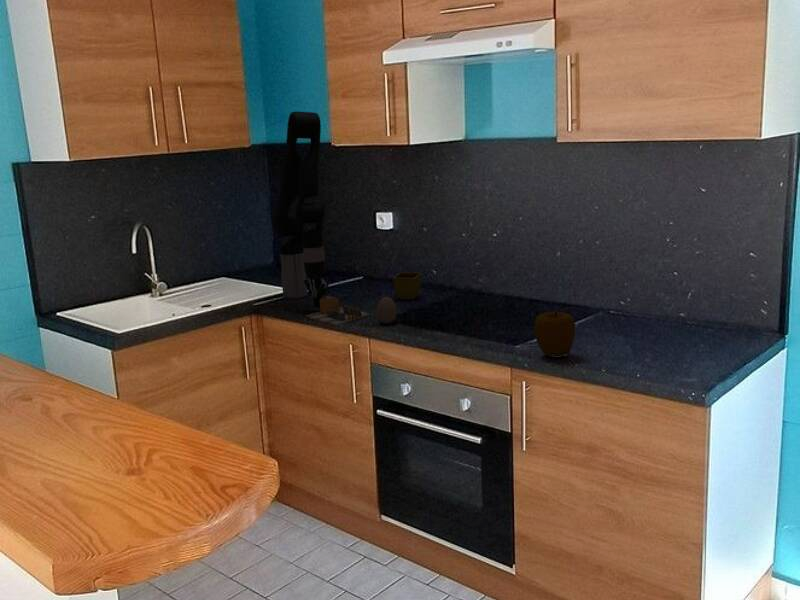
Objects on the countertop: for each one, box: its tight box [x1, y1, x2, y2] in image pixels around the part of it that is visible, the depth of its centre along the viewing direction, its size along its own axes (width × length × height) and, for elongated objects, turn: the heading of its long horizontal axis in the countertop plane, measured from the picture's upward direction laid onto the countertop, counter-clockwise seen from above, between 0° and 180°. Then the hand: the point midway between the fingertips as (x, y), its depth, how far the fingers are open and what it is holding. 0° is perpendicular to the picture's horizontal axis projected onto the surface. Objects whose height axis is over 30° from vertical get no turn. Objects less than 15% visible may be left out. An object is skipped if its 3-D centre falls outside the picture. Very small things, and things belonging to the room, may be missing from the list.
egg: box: [376, 296, 398, 325], centre depth 267 cm, size 7×7×9 cm
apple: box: [534, 311, 576, 356], centre depth 223 cm, size 11×11×13 cm
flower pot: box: [392, 272, 422, 301], centre depth 301 cm, size 9×9×9 cm
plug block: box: [319, 295, 340, 314], centre depth 284 cm, size 6×4×6 cm, turn 39°
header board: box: [305, 304, 373, 326], centre depth 281 cm, size 18×16×5 cm
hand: (318, 306), depth 290 cm, fingers closed
